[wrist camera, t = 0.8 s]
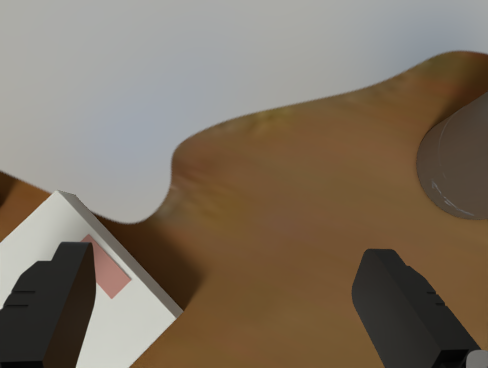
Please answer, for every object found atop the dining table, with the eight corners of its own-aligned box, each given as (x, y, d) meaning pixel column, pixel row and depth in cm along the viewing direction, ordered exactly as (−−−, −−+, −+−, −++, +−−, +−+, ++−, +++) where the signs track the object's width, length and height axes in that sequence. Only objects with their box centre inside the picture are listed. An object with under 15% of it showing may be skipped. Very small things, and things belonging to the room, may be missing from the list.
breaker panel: (74, 194, 32) (56, 189, 29) (183, 311, 30) (176, 318, 27) (-106, 364, 30) (-146, 378, 27) (-1, 500, 28) (-32, 531, 25)
